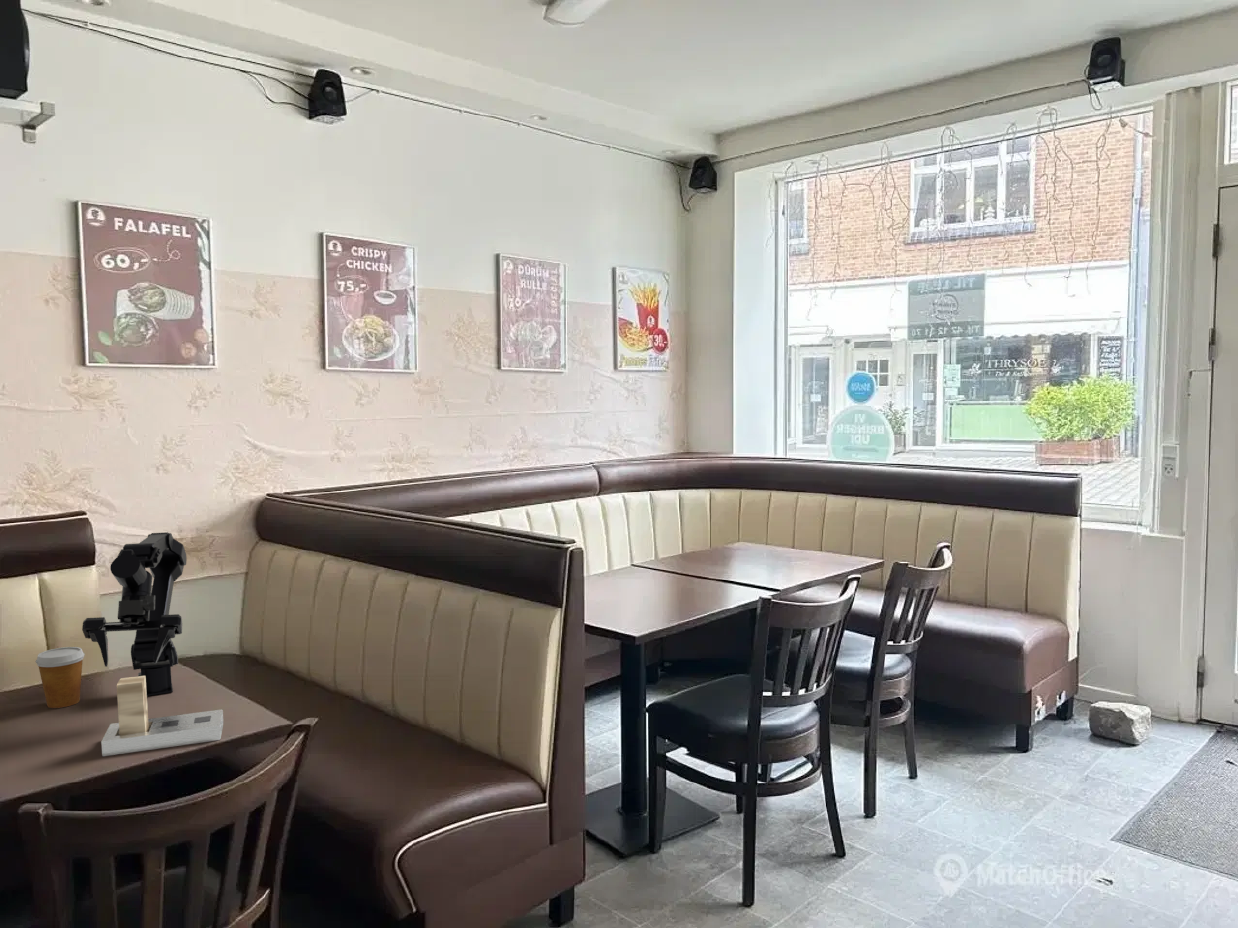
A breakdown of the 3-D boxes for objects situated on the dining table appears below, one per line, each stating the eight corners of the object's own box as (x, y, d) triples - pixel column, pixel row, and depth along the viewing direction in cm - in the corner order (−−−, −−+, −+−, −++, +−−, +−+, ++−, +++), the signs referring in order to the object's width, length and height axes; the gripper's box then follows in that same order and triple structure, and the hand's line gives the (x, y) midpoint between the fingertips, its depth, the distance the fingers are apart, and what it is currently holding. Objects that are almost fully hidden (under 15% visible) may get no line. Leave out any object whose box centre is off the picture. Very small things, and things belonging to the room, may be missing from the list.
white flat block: (223, 722, 189) (222, 708, 189) (220, 739, 180) (219, 724, 180) (111, 737, 182) (110, 723, 182) (102, 756, 172) (101, 740, 172)
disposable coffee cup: (93, 702, 203) (90, 651, 203) (45, 713, 197) (41, 660, 196) (80, 693, 210) (77, 643, 209) (33, 704, 203) (29, 652, 202)
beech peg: (124, 740, 180) (120, 678, 179) (149, 737, 182) (145, 675, 181) (120, 749, 176) (116, 685, 175) (146, 745, 178) (142, 682, 176)
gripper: (82, 583, 186) (74, 655, 179) (181, 580, 193) (177, 649, 186) (89, 602, 195) (82, 672, 188) (183, 599, 202) (180, 666, 195)
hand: (130, 664), depth 189 cm, fingers open, 9 cm apart
